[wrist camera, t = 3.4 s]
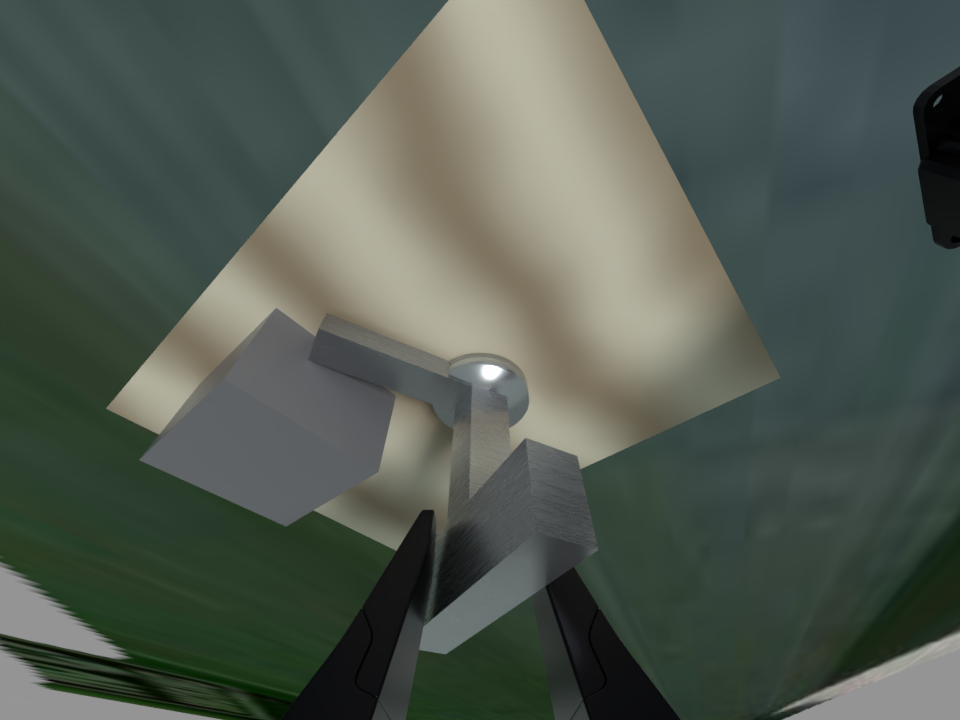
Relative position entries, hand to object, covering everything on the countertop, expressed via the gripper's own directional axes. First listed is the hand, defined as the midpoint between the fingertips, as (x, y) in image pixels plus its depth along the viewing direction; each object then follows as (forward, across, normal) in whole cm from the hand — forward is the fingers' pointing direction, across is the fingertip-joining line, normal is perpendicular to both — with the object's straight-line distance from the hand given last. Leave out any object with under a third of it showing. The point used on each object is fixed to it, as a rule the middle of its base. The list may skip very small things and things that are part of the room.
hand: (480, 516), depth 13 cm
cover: (+6, -8, 0) cm, 10 cm away
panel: (+8, -2, 0) cm, 8 cm away
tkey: (+6, -2, +1) cm, 6 cm away
